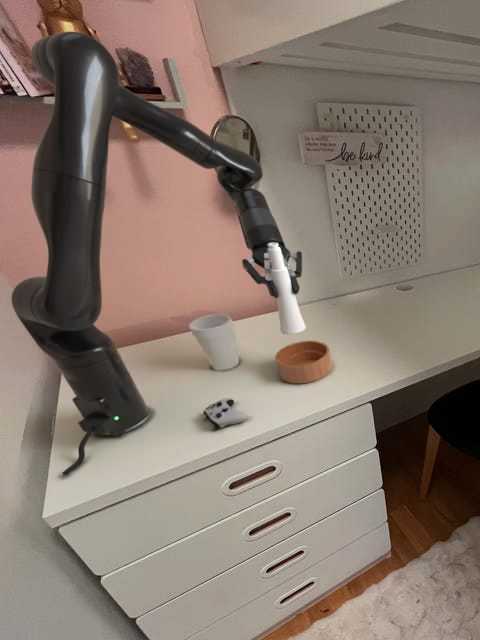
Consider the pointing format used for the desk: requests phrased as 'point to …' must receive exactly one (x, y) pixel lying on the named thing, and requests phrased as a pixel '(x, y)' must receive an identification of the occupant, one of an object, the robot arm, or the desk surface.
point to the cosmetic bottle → (284, 293)
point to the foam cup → (216, 340)
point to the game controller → (224, 413)
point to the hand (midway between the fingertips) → (286, 294)
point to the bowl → (304, 361)
